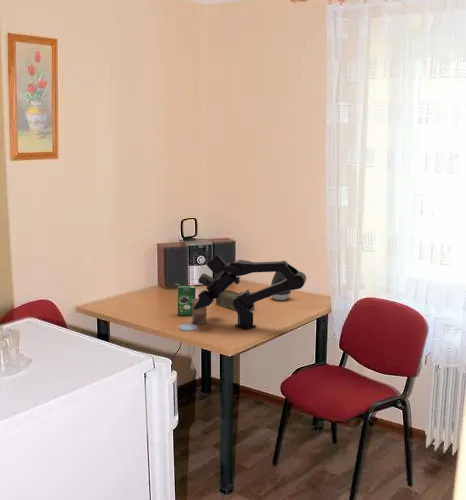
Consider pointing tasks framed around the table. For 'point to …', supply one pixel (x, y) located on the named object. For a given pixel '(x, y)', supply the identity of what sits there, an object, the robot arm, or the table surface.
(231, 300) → the beverage carton
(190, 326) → the slate pad
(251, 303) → the robot arm
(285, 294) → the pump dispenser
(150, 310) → the table surface
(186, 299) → the coffee box
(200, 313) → the brown rounded cylinder
